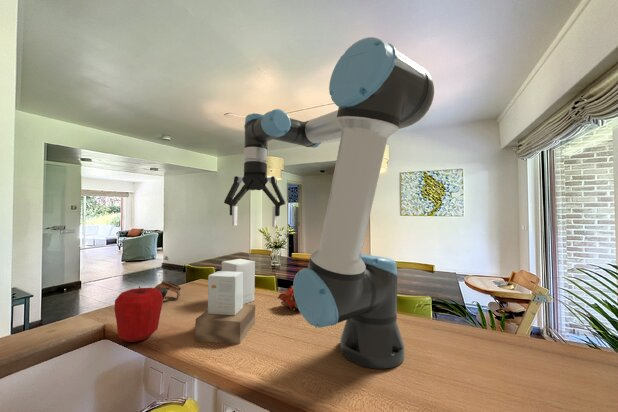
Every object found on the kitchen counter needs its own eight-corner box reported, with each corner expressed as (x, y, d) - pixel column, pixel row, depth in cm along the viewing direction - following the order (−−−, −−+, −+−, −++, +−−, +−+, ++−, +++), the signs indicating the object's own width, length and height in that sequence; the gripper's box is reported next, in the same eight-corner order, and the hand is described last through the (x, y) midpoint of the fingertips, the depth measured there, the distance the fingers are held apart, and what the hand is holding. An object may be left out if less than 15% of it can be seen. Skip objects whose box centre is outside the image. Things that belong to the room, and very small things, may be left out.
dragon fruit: (313, 316, 86) (280, 317, 89) (315, 295, 93) (284, 296, 96) (306, 300, 82) (272, 302, 85) (310, 279, 89) (277, 281, 92)
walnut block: (254, 325, 77) (255, 304, 77) (239, 345, 65) (240, 321, 65) (216, 322, 78) (217, 302, 78) (194, 342, 66) (195, 318, 66)
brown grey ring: (150, 299, 97) (163, 278, 100) (173, 309, 99) (185, 288, 102) (140, 301, 86) (155, 278, 89) (166, 312, 88) (180, 289, 91)
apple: (118, 353, 59) (120, 294, 60) (109, 338, 66) (111, 285, 67) (167, 337, 67) (169, 285, 68) (154, 325, 74) (156, 278, 74)
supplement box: (255, 301, 96) (256, 260, 96) (235, 307, 89) (236, 264, 89) (240, 295, 101) (241, 258, 102) (220, 301, 94) (221, 261, 95)
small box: (243, 308, 74) (244, 271, 74) (234, 316, 68) (235, 276, 68) (217, 306, 75) (218, 270, 75) (206, 313, 69) (207, 274, 70)
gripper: (294, 164, 88) (293, 226, 87) (224, 164, 90) (223, 224, 90) (290, 159, 80) (289, 227, 80) (214, 160, 83) (213, 225, 82)
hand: (254, 226), depth 85 cm, fingers open, 13 cm apart
